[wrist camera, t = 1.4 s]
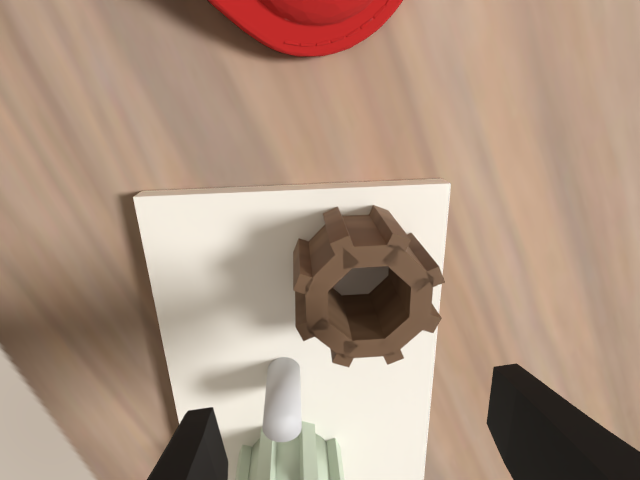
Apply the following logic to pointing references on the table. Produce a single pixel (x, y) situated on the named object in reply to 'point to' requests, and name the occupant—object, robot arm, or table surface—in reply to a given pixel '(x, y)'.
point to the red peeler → (308, 22)
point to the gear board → (286, 329)
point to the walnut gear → (364, 309)
